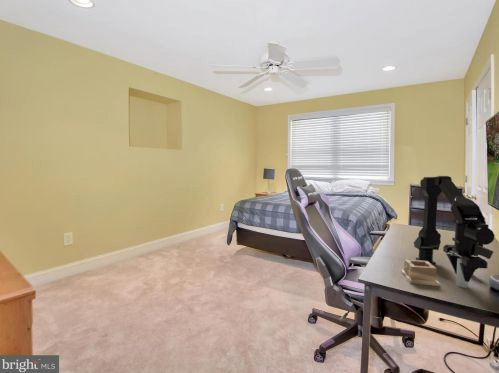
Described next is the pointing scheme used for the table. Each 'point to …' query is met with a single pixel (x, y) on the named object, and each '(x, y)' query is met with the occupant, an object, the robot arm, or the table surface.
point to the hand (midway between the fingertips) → (462, 277)
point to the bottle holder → (420, 272)
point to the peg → (460, 276)
